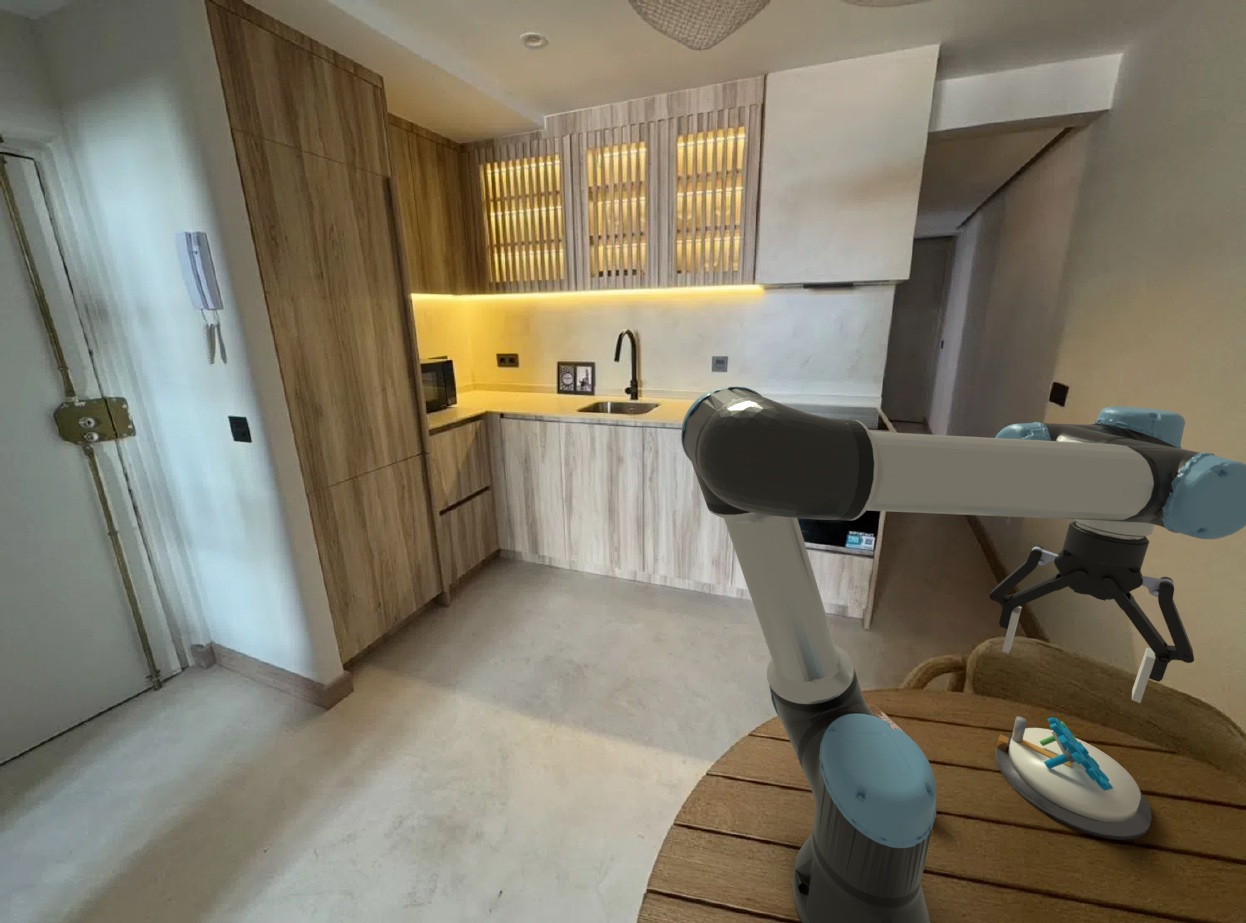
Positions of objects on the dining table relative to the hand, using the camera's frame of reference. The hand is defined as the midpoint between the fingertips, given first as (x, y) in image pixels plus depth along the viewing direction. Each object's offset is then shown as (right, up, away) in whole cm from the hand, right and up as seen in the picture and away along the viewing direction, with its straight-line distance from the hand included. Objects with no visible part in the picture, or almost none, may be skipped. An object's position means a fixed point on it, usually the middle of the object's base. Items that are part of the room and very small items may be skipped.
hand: (1067, 671), depth 69 cm
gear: (+7, -18, +7) cm, 20 cm away
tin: (-20, -21, +12) cm, 31 cm away
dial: (+7, -20, +8) cm, 23 cm away
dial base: (+7, -21, +8) cm, 24 cm away
